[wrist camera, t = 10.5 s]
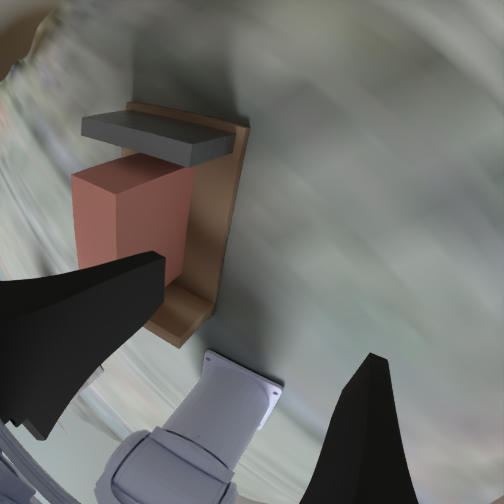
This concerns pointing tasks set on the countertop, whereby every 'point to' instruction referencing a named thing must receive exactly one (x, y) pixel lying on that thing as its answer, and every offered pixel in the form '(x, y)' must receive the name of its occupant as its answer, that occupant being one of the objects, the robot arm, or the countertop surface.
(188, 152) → the gray rectangular bar
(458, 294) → the countertop surface
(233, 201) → the shelf
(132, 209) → the pink rectangular pillar
